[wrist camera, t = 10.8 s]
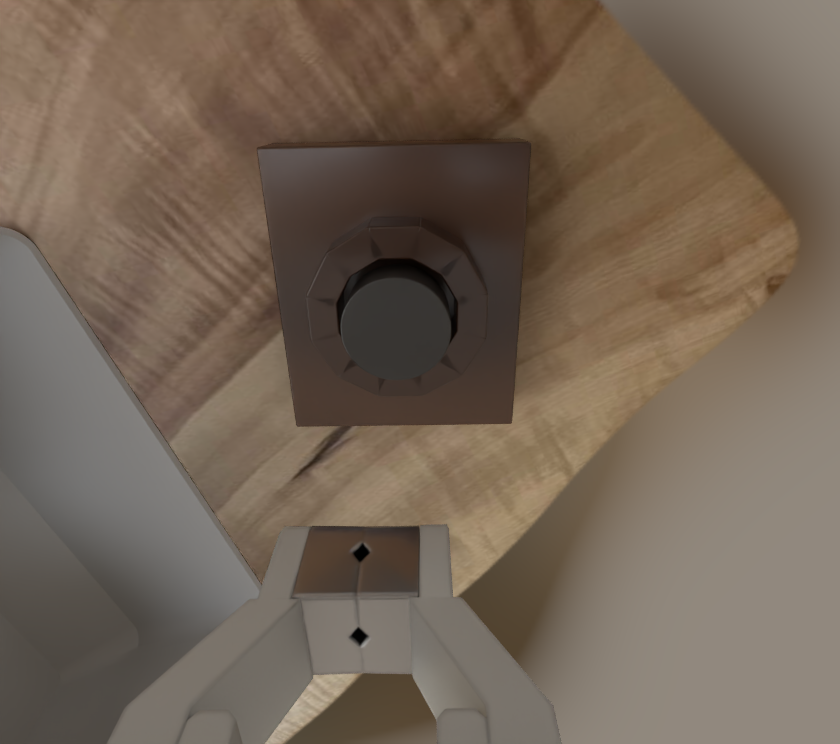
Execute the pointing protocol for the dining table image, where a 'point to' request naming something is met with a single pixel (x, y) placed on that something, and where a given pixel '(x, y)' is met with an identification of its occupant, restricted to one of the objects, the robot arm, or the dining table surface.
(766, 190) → the dining table surface
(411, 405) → the button block
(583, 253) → the dining table surface
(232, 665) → the robot arm
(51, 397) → the grey storage bin
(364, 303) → the button
